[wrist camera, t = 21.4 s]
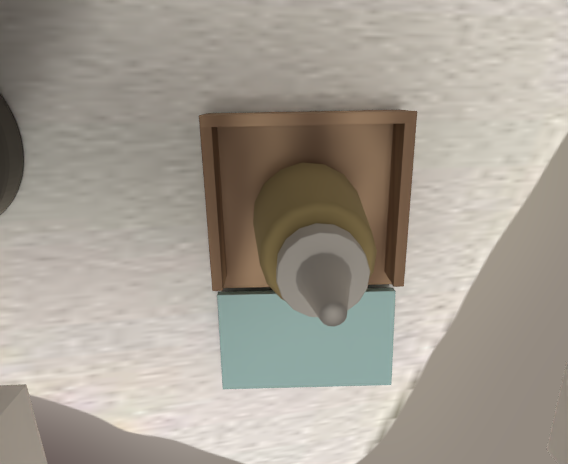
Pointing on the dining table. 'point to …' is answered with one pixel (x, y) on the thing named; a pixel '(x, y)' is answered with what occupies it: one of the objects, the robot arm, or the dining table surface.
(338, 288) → the squeeze bottle
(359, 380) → the panel
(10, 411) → the robot arm
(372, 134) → the crate
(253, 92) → the dining table surface
